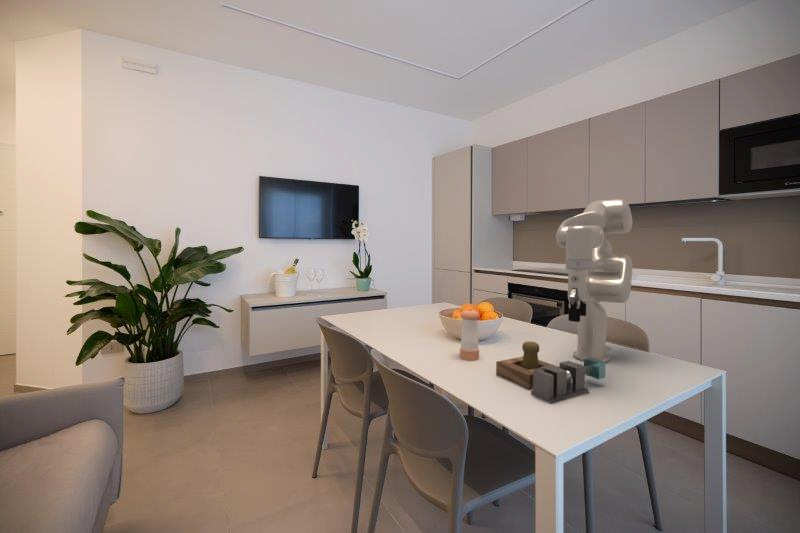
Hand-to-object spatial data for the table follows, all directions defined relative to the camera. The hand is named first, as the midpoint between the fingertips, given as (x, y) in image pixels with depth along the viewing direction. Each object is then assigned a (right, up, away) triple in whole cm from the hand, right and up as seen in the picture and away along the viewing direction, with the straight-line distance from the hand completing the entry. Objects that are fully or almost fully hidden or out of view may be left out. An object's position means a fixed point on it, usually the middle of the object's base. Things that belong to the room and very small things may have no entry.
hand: (577, 318), depth 114 cm
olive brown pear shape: (-15, -19, +1) cm, 24 cm away
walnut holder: (-15, -20, +1) cm, 25 cm away
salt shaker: (-30, -19, +23) cm, 42 cm away
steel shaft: (-3, -18, -7) cm, 19 cm away
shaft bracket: (-10, -20, -11) cm, 25 cm away
